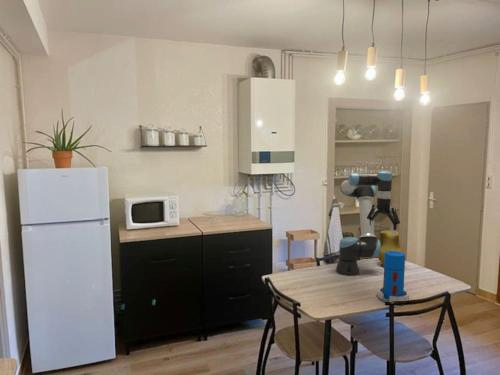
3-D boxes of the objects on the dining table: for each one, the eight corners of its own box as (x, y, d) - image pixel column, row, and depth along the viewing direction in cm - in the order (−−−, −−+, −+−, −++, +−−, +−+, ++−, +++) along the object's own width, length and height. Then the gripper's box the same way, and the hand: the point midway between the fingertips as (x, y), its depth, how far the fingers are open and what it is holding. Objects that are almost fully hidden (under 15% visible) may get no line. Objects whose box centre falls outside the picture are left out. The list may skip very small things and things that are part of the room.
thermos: (384, 299, 213) (386, 255, 211) (381, 292, 224) (383, 250, 221) (405, 301, 211) (407, 256, 209) (401, 293, 222) (403, 251, 219)
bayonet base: (371, 297, 219) (371, 291, 218) (387, 290, 230) (387, 284, 229) (399, 307, 206) (399, 300, 205) (415, 299, 217) (415, 292, 216)
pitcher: (379, 268, 270) (381, 232, 268) (375, 261, 288) (377, 228, 287) (405, 270, 267) (407, 234, 265) (399, 263, 285) (401, 230, 284)
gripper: (361, 196, 234) (360, 230, 236) (401, 201, 215) (399, 238, 218) (368, 194, 238) (367, 228, 241) (407, 199, 220) (405, 236, 223)
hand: (382, 233), depth 229 cm, fingers open, 13 cm apart
